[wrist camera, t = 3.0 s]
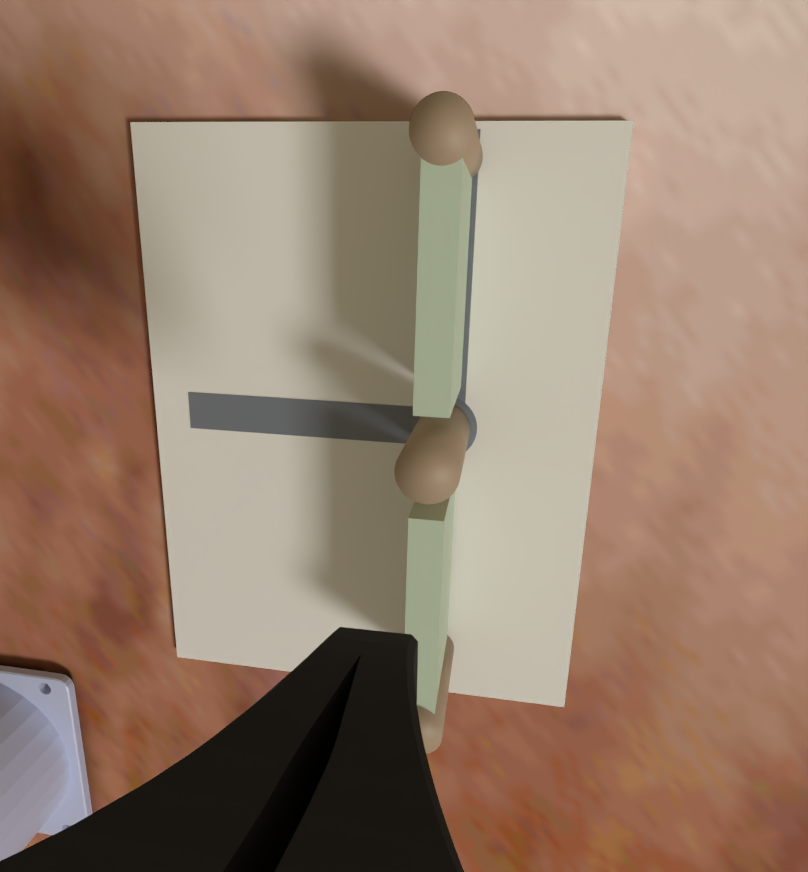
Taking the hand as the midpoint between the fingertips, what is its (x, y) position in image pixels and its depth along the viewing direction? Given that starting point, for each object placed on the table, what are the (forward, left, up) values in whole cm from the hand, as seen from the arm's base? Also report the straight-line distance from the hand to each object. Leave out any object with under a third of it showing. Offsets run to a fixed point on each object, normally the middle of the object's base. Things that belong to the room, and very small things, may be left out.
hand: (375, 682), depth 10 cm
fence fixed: (0, +6, -10) cm, 11 cm away
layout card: (-2, +1, -10) cm, 10 cm away
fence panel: (0, -3, -9) cm, 10 cm away
